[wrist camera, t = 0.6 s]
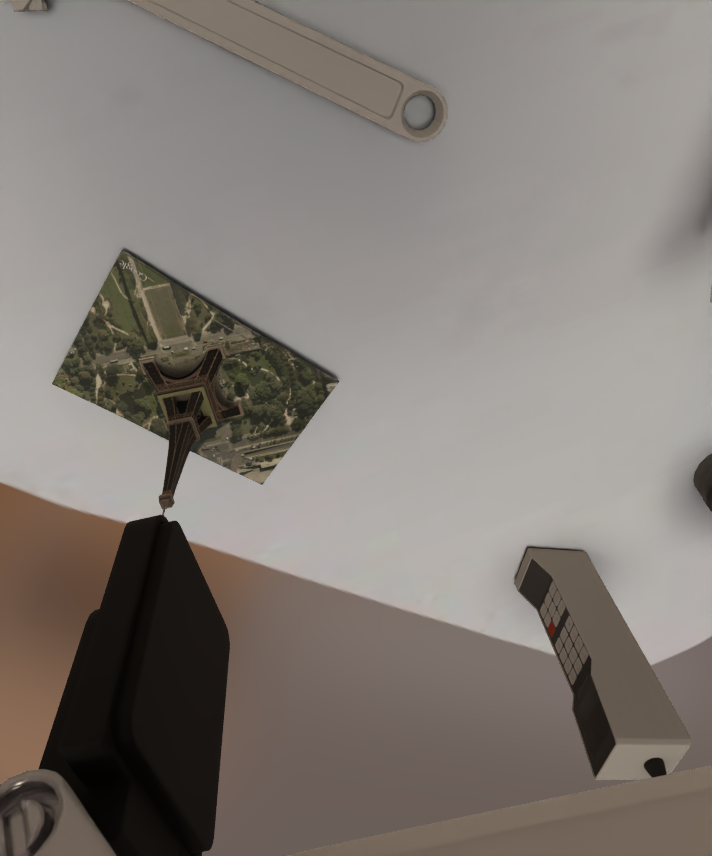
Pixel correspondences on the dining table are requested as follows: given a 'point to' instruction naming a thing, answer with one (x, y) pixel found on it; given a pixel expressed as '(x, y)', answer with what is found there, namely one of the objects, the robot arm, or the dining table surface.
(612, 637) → the vintage mobile phone
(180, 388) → the eiffel tower figurine
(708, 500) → the beverage cup
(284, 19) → the adjustable wrench
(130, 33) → the dining table surface
